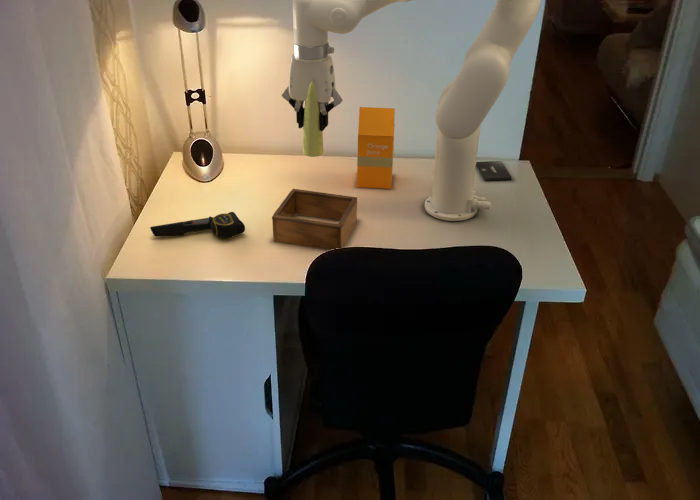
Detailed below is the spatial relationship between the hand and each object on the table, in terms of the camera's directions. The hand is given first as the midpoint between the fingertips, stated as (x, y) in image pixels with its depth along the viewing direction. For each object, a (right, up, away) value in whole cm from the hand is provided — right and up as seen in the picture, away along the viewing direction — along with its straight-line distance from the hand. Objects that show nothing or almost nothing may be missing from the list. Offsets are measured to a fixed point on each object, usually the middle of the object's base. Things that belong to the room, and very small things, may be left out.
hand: (312, 126), depth 164 cm
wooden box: (+1, -25, -5) cm, 25 cm away
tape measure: (-18, -25, -6) cm, 32 cm away
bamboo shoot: (0, -6, +4) cm, 7 cm away
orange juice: (+15, -11, +16) cm, 25 cm away
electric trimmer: (-28, -25, -6) cm, 38 cm away
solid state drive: (+47, -8, +21) cm, 52 cm away
